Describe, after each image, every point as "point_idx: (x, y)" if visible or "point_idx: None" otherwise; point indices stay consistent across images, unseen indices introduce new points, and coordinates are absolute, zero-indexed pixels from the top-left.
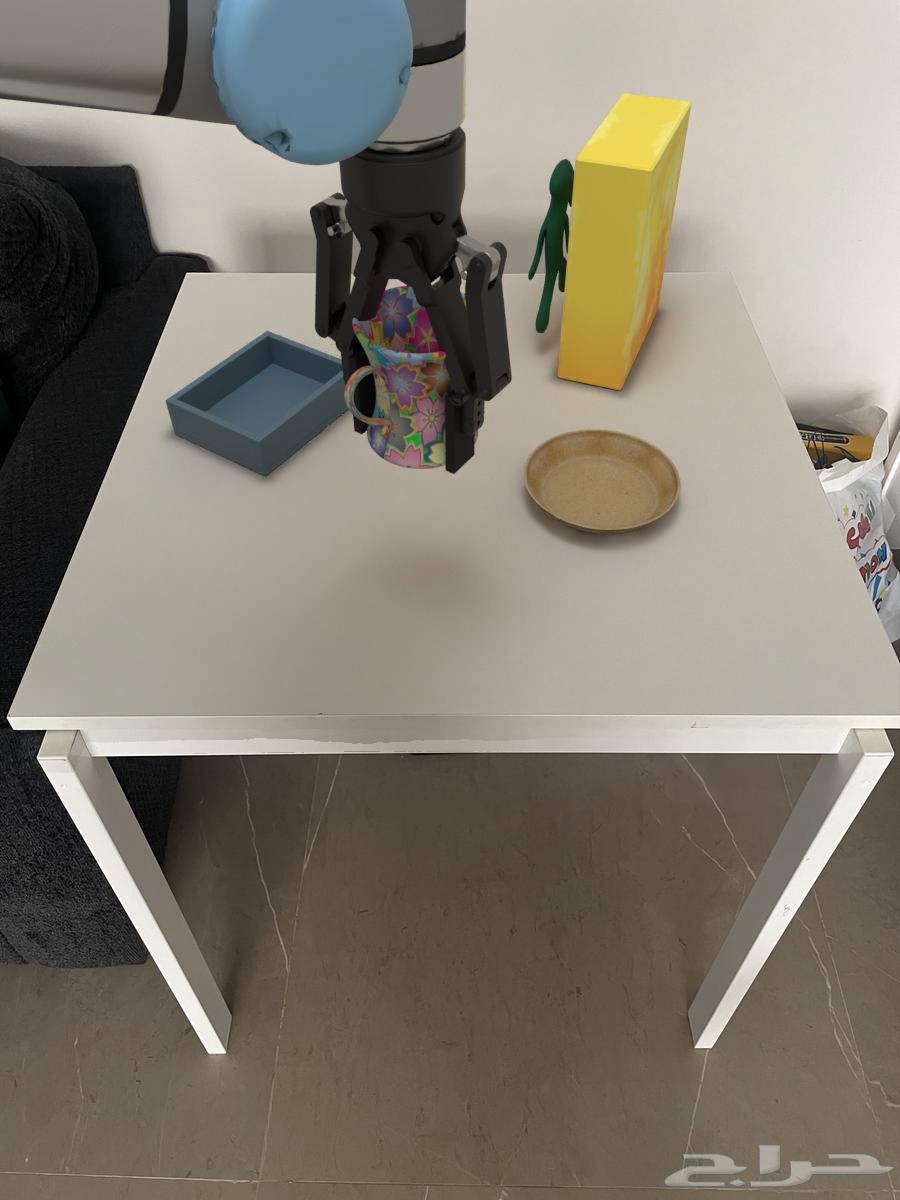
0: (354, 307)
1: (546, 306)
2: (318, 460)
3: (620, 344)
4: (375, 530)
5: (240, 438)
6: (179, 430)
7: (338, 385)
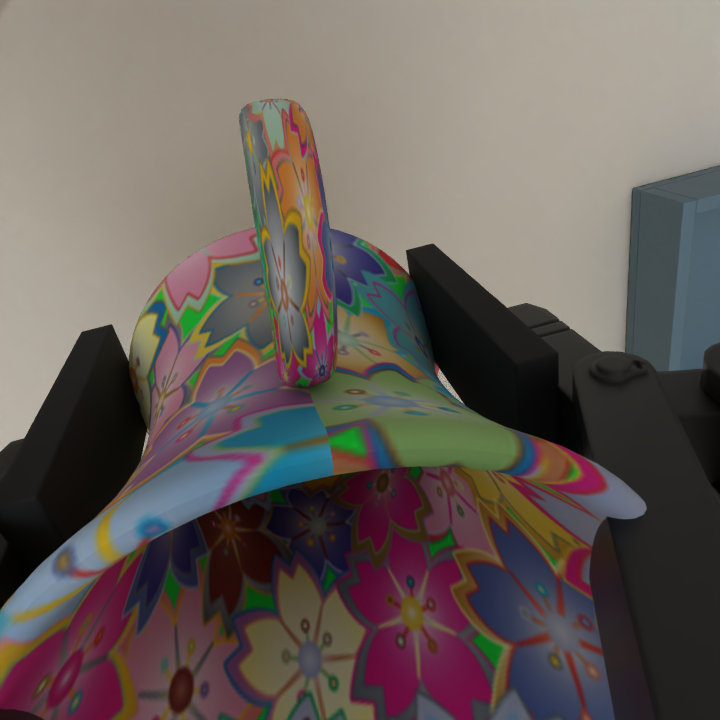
0: (685, 574)
1: None
2: (588, 276)
3: None
4: (408, 241)
5: (717, 189)
6: None
7: None
